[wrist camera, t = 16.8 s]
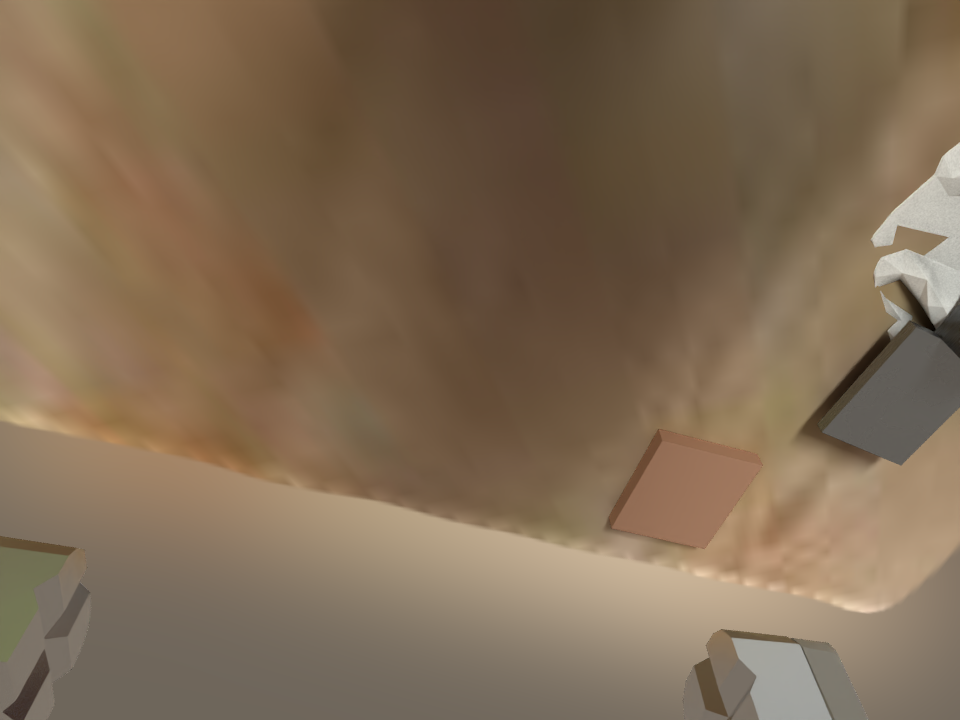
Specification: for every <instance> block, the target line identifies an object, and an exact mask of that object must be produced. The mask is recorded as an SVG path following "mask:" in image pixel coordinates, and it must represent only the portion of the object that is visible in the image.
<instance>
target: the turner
mask: <svg viewBox="0 0 960 720" xmlns="http://www.w3.org/2000/svg"><path fill="white" fill-rule="evenodd" d="M959 407H960V304H959V305H958V306H957V307H956V308H955V310H954V311H953V312H952V313H951V314H950V315H949V316H948V317H947V318H946V319H945V320H944V322H943V323H942V324H941V325H940V326H939V327H938V328H937V329H936V330H935V331H931V330H929V329H927V328H925V327H923V326H921V325H919V324H917V323H915V322H912V321H910V320H909V321H908V322H907V324H906V325H905V326H904V327H903V328H902V329H901V330H900V331H899V333H898V334H897V335H896V336H895V337H894V338H893V339H892V340H891V341H890V343H889V344H888V345H887V346H886V347H885V348H884V349H883V350H882V352H881V353H880V354H879V355H878V356H877V357H876V358H875V359H874V361H873V362H872V363H871V364H870V365H869V366H868V367H867V368H866V370H865V371H864V372H863V373H862V374H861V375H860V376H859V377H858V379H857V380H856V381H855V382H854V383H853V384H852V385H851V386H850V388H849V389H848V390H847V391H846V392H845V393H844V394H843V395H842V397H841V398H840V399H839V400H838V401H837V402H836V403H835V404H834V406H833V407H832V408H831V409H830V410H829V411H828V412H827V413H826V415H825V416H824V417H823V418H822V419H821V420H820V421H819V422H818V424H817V425H818V427H819V428H820V430H821V432H822V433H825V434H827V435H829V436H832V437H834V438H837V439H839V440H841V441H844V442H846V443H848V444H851V445H853V446H856V447H858V448H860V449H863V450H865V451H868V452H870V453H872V454H875V455H877V456H880V457H882V458H884V459H887V460H889V461H891V462H894V463H896V464H899V465H902V464H903V463H904V462H905V461H906V460H907V459H908V458H909V457H910V456H911V455H912V454H913V453H914V452H915V451H916V450H917V449H918V448H919V447H920V446H921V445H922V444H923V443H924V442H925V441H926V440H927V439H928V438H929V437H930V436H931V435H932V434H933V433H934V432H935V431H936V430H937V429H938V428H939V427H940V426H941V425H942V424H943V423H944V422H945V421H946V420H947V419H948V418H949V417H950V416H951V415H952V414H953V413H954V412H955V411H956V410H957V409H958V408H959Z"/></svg>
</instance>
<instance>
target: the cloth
mask: <svg viewBox="0 0 960 720" xmlns="http://www.w3.org/2000/svg"><path fill="white" fill-rule="evenodd" d="M897 225H899V226H903V227H907V228H912V229H916V230H920V231H925V232H929V233H933V234H938V235H942V236H946V237H949V238H947V239H946V240H945V241H943V242H942V243H941V244H939V245H938V246H937V247H935V248H934V249H933V250H931V251H930V252H928V253H927V254H926V255H924V256H923V255H920V254H918V253H915V252H912V251H910V250H907V249H905V250H902V251H899V252H896V253H893V254H890V255H887V256H884V257H881V259H880V260H879V262H878V263H877V265H876V268H875V271H874V282H875V287H876V286H877V285H878V286H883V285H886V284H889V283H892V282H895V281H898V280H901V281H902V282H903V283H904V285H905V286H906V287H907V288H908V289H909V291H910V292H911V293H912V294H913V295H914V297H915V298H916V299H917V300H918V301H919V303H920V305H921V306H922V308H923V309H924V311H925V312H926V314H927V315H928V317H929V319H930V320H931V322H932V323H933V325H934V327H935V328H936V329H937V328H938V327H939V326H940V325H941V324H942V323H943V322H944V320H945V319H946V318H947V317H948V316H949V315H950V314H951V313H952V312H953V311H954V310H955V308H956V307H957V306H958V305H959V304H960V143H959V144H957V145H956V146H955V147H953V148H952V149H951V150H949V151H948V152H947V153H946V154H945V155H944V156H943V157H942V158H941V160H940V163H939V165H938V167H937V170H936V172H935V174H934V175H933V176H932V177H931V178H930V179H928V180H927V181H926V182H925V183H924V184H923V185H922V186H921V187H919V188H918V189H917V190H916V191H915V192H914V193H913V194H912V195H910V196H909V197H908V198H907V199H906V200H905V201H904V202H903V203H901V204H900V205H899V206H898V207H897V208H896V209H895V210H894V211H893V212H892V213H891V214H890V215H889V216H888V218H887V219H886V220H885V221H884V223H883V224H882V225H881V226H880V227H879V229H878V230H877V231H876V232H875V234H874V235H873V237H872V239H871V241H872V243H873V245H874V246H875V247H878V246H886V245H892V243H893V240H894V236H895V232H896V228H897ZM880 292H881V291H880ZM881 296H882V299H883V302H884V306H885V309H886V312H887V313H888V314H890V315H891V316H893V317H894V318H896V319H897V320H898V321H897V322H896V323H895V324H894V325H893V326H892V327H891V328H890V329H889V330H888V334H889V337H890V340H892V339H893V338H894V337H895V336H896V335H897V334H898V333H899V331H900V330H901V329H902V328H903V327H904V326H905V325H906V324H907V322H908V321H909V320H910V321H911V320H912V317H913V316H912V315H910V314H908V313H907V312H905V311H904V310H902V309H901V308H899V307H898V306H896V305H895V304H893V303H892V302H890V301H889V300H887V299H886V298H885V296H884V295H883V294H882V292H881Z"/></svg>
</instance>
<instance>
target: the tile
mask: <svg viewBox="0 0 960 720" xmlns="http://www.w3.org/2000/svg"><path fill="white" fill-rule="evenodd" d="M762 466H763V465H762V463H761V460H760V458H759V456H758V454H755V453H751V452H748V451H744V450H740V449H736V448H732V447H728V446H724V445H720V444H716V443H712V442H708V441H704V440H700V439H696V438H692V437H688V436H684V435H680V434H677V433H673V432H669V431H665V430H661V429H658V431H657V433H656V434H655V436H654V438H653V440H652V441H651V443H650V445H649V447H648V449H647V450H646V452H645V454H644V456H643V457H642V459H641V461H640V463H639V464H638V466H637V468H636V470H635V471H634V473H633V475H632V477H631V478H630V480H629V482H628V484H627V486H626V487H625V489H624V491H623V493H622V494H621V496H620V498H619V500H618V501H617V503H616V505H615V507H614V508H613V510H612V512H611V514H610V515H609V520H610V525H611V528H612V529H617V530H621V531H626V532H630V533H635V534H639V535H644V536H648V537H653V538H657V539H662V540H666V541H671V542H675V543H680V544H684V545H689V546H693V547H698V548H702V549H705V548H706V547H707V545H708V544H709V542H710V541H711V540H712V538H713V537H714V535H715V534H716V532H717V531H718V529H719V528H720V527H721V525H722V524H723V522H724V521H725V519H726V518H727V517H728V515H729V514H730V512H731V511H732V509H733V508H734V506H735V505H736V504H737V502H738V501H739V499H740V498H741V496H742V495H743V494H744V492H745V491H746V489H747V488H748V486H749V485H750V483H751V482H752V481H753V479H754V478H755V476H756V475H757V473H758V472H759V471H760V469H761V468H762Z"/></svg>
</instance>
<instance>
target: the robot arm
mask: <svg viewBox="0 0 960 720" xmlns="http://www.w3.org/2000/svg"><path fill="white" fill-rule="evenodd" d="M86 569H87V563H86V557H85V551H84V549H79V548H74V547H67V546H61V545H54V544H48V543H41V542H35V541H28V540H22V539H15V538H9V537H2V536H0V720H47V719H48V717H49V715H50V713H51V711H52V708H53V707H54V705H55V701H54V695H53V688H52V683H53V682H55V681H56V680H57V679H59V678H60V677H62V676H63V675H65V674H66V673H67V672H69V671H70V670H72V668H73V666H74V664H75V662H76V659H77V657H78V655H79V653H80V651H81V649H82V646H83V643H84V640H85V636H86V633H87V630H88V626H89V622H90V613H91V598H90V592H89V591H88V590H87V589H86V588H85V587H84V586H83V585H82V584H81V583H80V581H81V579H82V577H83V575H84V573H85V571H86ZM706 647H707V651H708V655H709V658H707V659H706V660H704V661H702V662H700V663H698V664H696V665H694V666H693V668H692V670H691V672H690V674H689V676H688V678H687V680H686V684H685V691H684V698H683V708H684V719H685V720H868V717H867V715H866V713H865V711H864V709H863V707H862V704H861V702H860V700H859V698H858V696H857V694H856V692H855V690H854V687H853V685H852V683H851V681H850V679H849V677H848V675H847V673H846V670H845V668H844V666H843V664H842V662H841V660H840V658H839V656H838V654H837V652H836V650H835V649H834V648H833V647H832V646H831V645H830V644H829V643H826V642H818V641H810V640H803V639H795V638H788V637H786V636H777V635H768V634H758V633H750V632H741V631H732V630H723V629H721V630H719V631H717V632H715V633H713V635H712V636H711V638H710V640H709V641H708V643H707V645H706Z"/></svg>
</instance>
